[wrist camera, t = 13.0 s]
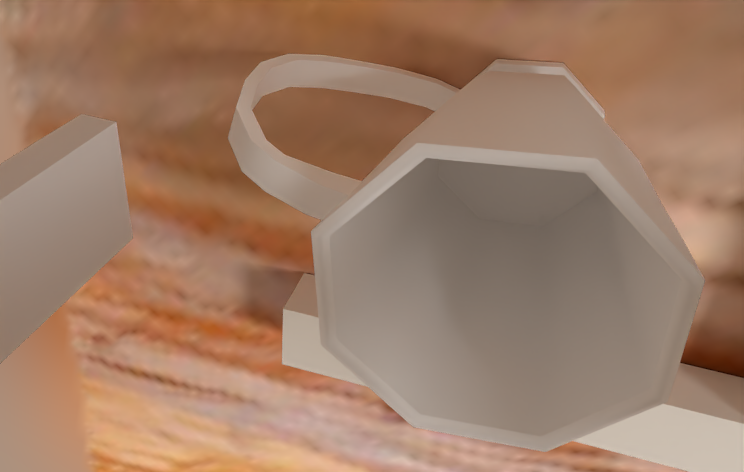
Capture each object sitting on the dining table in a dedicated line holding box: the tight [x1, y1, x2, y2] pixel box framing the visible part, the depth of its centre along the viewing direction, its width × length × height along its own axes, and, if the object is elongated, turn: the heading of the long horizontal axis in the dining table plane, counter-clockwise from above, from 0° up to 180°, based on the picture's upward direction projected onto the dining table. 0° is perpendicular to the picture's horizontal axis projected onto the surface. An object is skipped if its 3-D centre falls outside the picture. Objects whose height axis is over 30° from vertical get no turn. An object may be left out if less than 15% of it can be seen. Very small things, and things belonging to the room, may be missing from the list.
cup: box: [228, 54, 705, 452], centre depth 15 cm, size 7×10×8 cm
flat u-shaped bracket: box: [282, 273, 744, 472], centre depth 16 cm, size 22×20×2 cm
